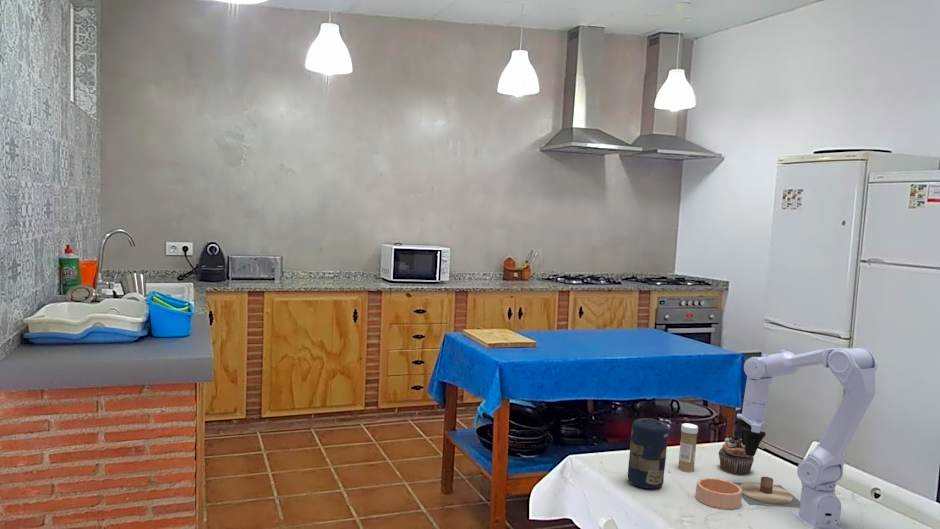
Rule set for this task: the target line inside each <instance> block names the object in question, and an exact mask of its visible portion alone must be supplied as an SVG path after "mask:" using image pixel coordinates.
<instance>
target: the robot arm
mask: <svg viewBox="0 0 940 529" xmlns="http://www.w3.org/2000/svg"><path fill="white" fill-rule="evenodd" d="M777 351H778V352H777V353H774V354H769V353H763V354H762V356H751V357H749V358H748V359H746V360H745V362H744V364H743V371H744V373H745V375H746V384H745V389H744V397H743V401H742V402H743V405H742V410H741V413H737V414H736V418H737V419H738V421H739V424H740V432H741V438H742V445H745V453H746V455H750V456H753V457H755V455H756V453H757V451H758V448H759V445H760V443H761V441H762V440H763V439H764V438H765V437H766V435H767V434H766V432H765V431H761V427H762V426H763V425H764V424H765V422H766V419H765V418H766V410H767V405H768V398H769V391H770V384H772V379H773V378H775V377H782V376H789V375H793V374H796V373H797V372H798V370H799V368H804V367H811V366H818V365H822V366H823V367H824V368H825V369H827V368H828V369H829V370H830V371H831V373H832V374H833V376H835V377H836V379H837V380H838V381H839V383H840V385H842V386H843V388H844V390H845V394H844V396H843V397H842V400H841V402H840V404H839V405H838V408H837V409H836V412H834V415H833V417H832V419H831V421H830V422H829V425H828V427H827V428H826V430H825V432H824V434H823V437H822V438H821V440H820V442H819V444H818V446H817V447H815V448H814V449H813V450H811V452H809V453H808V455H807V457H806V458H805V459H803V460H802V461H800V462H799V463H798V465H797V469H796V471H797V472H796V473H797V476H798V479H799V480H800V481H801V491H800V492H801V493H800V500H799V501H800V508H799V509H798V511H797V510H792V511H791V512H792V514H794V515H795V516H796V517H797V518H799V519H800V520H801V522H803V523H804V524H805V525H806V526H807V527H808V528H810V529H811V528H812V529H843V528H842V527H841V526H840V523H841V514H842V512H841V511H842V503H841V500H840V499H839V498H838V496H837V494H836V487H837V482H839V481H840V480H841V479H842V477H843V475H844V465H845V463H846V459H845V457H844V456H843V455H844V453H845V452H846V449H847V448H848V446H849V444H850V442H851V440H852V439H853V436H854V435H855V433H856V431H857V429H858V427H859V426H860V424H861V422H862V420H863V418H864V416H865V414H866V412H867V410H868V409H869V407H870V404H871V403H872V400H873V399H874V397H875V396H876V395H875V394H876V371H877V370H878V367H879V364H878V362H877V360H876V357H875V356H874V353H872V351H871V350H870V349H868V348H866V347H863V346H862V347H861V346H859V347H858V346H857V347H854V348H852V347H838V348H837V347H834V348H832V347H831V348H821V349H817V350H812V351H808V352H804V353H803V352H802V353H799V354H795V353H793V352H792V351H789V350H788V351H787V350H786V349H781V350H777Z"/></svg>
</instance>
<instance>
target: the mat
mask: <svg viewBox="0 0 940 529" xmlns="http://www.w3.org/2000/svg"><path fill="white" fill-rule="evenodd" d="M732 483H734V484H736V485H738V486H739V487H740V485H741V484H743V483H744V482H735V481H734V482H732ZM773 485H774V486H777V487H780V488H782V489H784V490H786V491H788V490H787V489H785V488H784V487H783V486H782V485H781V484H773ZM792 496H793V501H792V502H791V503H789V504H784V505H776V504H768V503H763V502H759V501H756V500H753V499H751V498H748V497H746V496H745V495H743V494H742V500H744V501H745V503H747V504H748V505H749V506H765V507H781V508H782V507H783V508H798V509H800V500H799V499H798V498H797V497H795V496H794V495H793V494H792Z"/></svg>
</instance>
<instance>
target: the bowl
mask: <svg viewBox="0 0 940 529" xmlns="http://www.w3.org/2000/svg"><path fill="white" fill-rule="evenodd" d="M734 483H735V482H734ZM734 483H732V482H731V481H728V480H724V479H721V478H714V477H713V478H711V477H705V478H700V479H698V480H697V482H696V486H695V498H696V499H697V501H699V503H702V504H705V505H706V506H709V507H712V508H716V509H720V510H735V509H739V508H741V505H742V500H743V498H742V489H741V488H740V487H739V486H738V485H736V484H734Z"/></svg>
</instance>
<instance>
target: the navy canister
mask: <svg viewBox="0 0 940 529" xmlns="http://www.w3.org/2000/svg"><path fill="white" fill-rule="evenodd" d="M669 429H670V428H669V425H668V424H667V423H666V422H663V421H661V420H658V419H654V418H644V417H643V418H642V417H641V418H637V419H635V420H634V421H632V424H631V434H630V442H629V443H630V444H629V455H628V456H629V457H628V467H627V468H628V469H627V479H628V481H629V482H630V483H631V484H632V485H634V486H636V487H639V488H643V489H657V488H660V487H662V485H663V484H664V477H665V470H666V468H665V467H666V460H667V449H668V438H669Z"/></svg>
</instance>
